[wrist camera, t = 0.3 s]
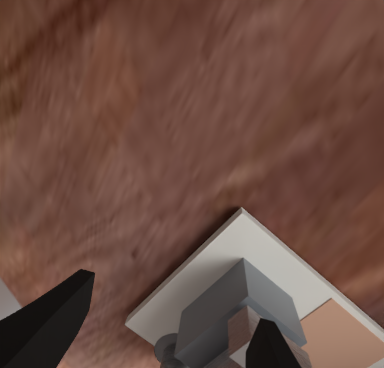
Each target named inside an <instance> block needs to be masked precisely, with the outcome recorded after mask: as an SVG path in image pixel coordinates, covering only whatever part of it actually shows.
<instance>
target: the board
mask: <svg viewBox="0 0 384 368" xmlns="http://www.w3.org/2000/svg"><path fill="white" fill-rule="evenodd" d="M242 258H245V259H246V260H247V261H248V262H250V263H251V264H252V265H253V266H254V267H256V268H257V269H258V270H259V271H260V272H262V273H263V274H264V275H265V276H266V277H268V278H269V279H270V280H271V281H273V282H274V283H275V284H276V285H277V286H279V287H280V288H281V289H282V290H283V291H285V292H286V293H287V294H288V295H289V296H291V297H292V299H293V302H294V305H295V308H296V311H297V314H298V317H299V320H300V323H301V326H302V329H303V332H304V335H305V337H306V340H307V344H305V345H304V346H302V347H301V348H302V349H303V350H304V351H305V352H307V353H308V356H309V359H310V362H311V365H312V368H384V329H383V328H382V327H380V326H379V325H378V324H377V323H376V322H375V321H373V320H372V319H371V318H370V317H369V316H368V315H366V314H365V313H364V312H363V311H362V310H361V309H359V308H358V307H357V306H356V305H355V304H354V303H353V302H351V301H350V300H349V299H348V298H347V297H346V296H344V295H343V294H342V293H341V292H340V291H339V290H337V289H336V288H335V287H334V286H333V285H332V284H330V283H329V282H328V281H327V280H326V279H325V278H323V277H322V276H321V275H320V274H319V273H318V272H316V271H315V270H314V269H313V268H312V267H311V266H310V265H308V264H307V263H306V262H305V261H304V260H303V259H301V258H300V257H299V256H298V255H297V254H296V253H294V252H293V251H292V250H291V249H290V248H289V247H287V246H286V245H285V244H284V243H283V242H282V241H280V240H279V239H278V238H277V237H276V236H275V235H273V234H272V233H271V232H270V231H269V230H268V229H266V228H265V227H264V226H263V225H262V224H261V223H260V222H258V221H257V220H256V219H255V218H254V217H253V216H251V215H250V214H249V213H248V212H247V211H246V210H244V209H243V208H242V207H241V208H240V209H239V210H238V211H237V212H236V213H235V214H234V215H233V216H231V217H230V218H229V219H228V220H227V221H226V222H225V223H224V224H223V225H222V226H221V227H220V228H219V229H218V230H217V231H216V232H215V233H214V234H213V235H212V236H211V237H210V238H209V239H207V240H206V241H205V242H204V243H203V244H202V245H201V246H200V247H199V248H198V249H197V250H196V251H195V252H194V253H193V254H192V255H191V256H190V257H189V258H188V259H187V260H186V261H185V262H183V263H182V264H181V265H180V266H179V267H178V268H177V269H176V270H175V271H174V272H173V273H172V274H171V275H170V276H169V277H168V278H167V279H166V280H165V281H164V282H163V283H162V284H161V285H159V286H158V287H157V288H156V289H155V290H154V291H153V292H152V293H151V294H150V295H149V296H148V297H147V298H146V299H145V300H144V301H143V302H142V303H141V304H140V305H139V306H138V307H137V308H135V309H134V310H133V311H132V312H131V313H130V314H129V315H128V317H127V320H126V322H125V325H126V326H127V327H128V328H130V329H131V330H133V331H134V332H135V333H137V334H138V335H139V336H141V337H142V338H144V339H145V340H146V341H148V342H149V343H151V344H152V345H153V346H155V348H154V352H155V356H156V358H157V359H158V361H159V362H160V363H161V360H162V355H163V351H164V349H165V348H166V347H167V346H168V345H171V344H176V342H177V336H178V330H179V324H180V318H181V313H182V311H183V310H184V309H185V308H186V307H188V306H189V305H190V304H191V303H192V302H193V301H194V300H195V299H197V298H198V297H199V296H200V295H201V294H202V293H203V292H205V291H206V290H207V289H208V288H209V287H210V286H211V285H213V284H214V283H215V282H216V281H217V280H218V279H219V278H221V277H222V276H223V275H224V274H225V273H226V272H227V271H228V270H230V269H231V268H232V267H233V266H234V265H235V264H236V263H238V262H239V261H240V260H241V259H242Z"/></svg>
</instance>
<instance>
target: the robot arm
mask: <svg viewBox="0 0 384 368" xmlns="http://www.w3.org/2000/svg"><path fill="white" fill-rule="evenodd" d="M94 277H95V273H94V272H90V271H87V270H83V269H80V270H78V271H77V272H76V273H74V274H73V275H72V276H70V277H69V278H67V279H66V280H65V281H63V282H62V283H60V284H59V285H57V286H56V287H55V288H53V289H52V290H50V291H49V292H47V293H45V294H44V295H42V296H41V297H39V298H38V299H36V300H35V301H33V302H32V303H30V304H28V305H27V306H25V307H23V308H21V309H20V310H18V311H16V312H15V313H13V314H11V315H10V316H8V317H6V318H4V319H2V320H0V368H56V367H57V366H58V364H59V362H60V361H61V359H62V358H63V356H64V355H65V353H66V351H67V350H68V348H69V347H70V345H71V343H72V342H73V340H74V339H75V337H76V335H77V334H78V332H79V330H80V328H81V326H82V324H83V322H84V320H85V318H86V316H87V314H88V311H89V308H90V302H91V296H92V289H93V283H94ZM245 368H302V367H301V366H300V364H299V362H298V361H297V359H296V357H295V356H294V354H293V352H292V351H291V349H290V347H289V346H288V344H287V342H286V340H285V339H284V337H283V335H282V333H281V332H280V330H279V328H278V326H277V325H276V323H275V322H274V321H271V320H267V319H263V318H260V320H259V323H258V325H257V327H256V329H255V332H254V334H253V336H252V339H251V341H250V343H249V346H248V348H247V350H246V358H245Z"/></svg>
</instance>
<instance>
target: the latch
mask: <svg viewBox="0 0 384 368" xmlns="http://www.w3.org/2000/svg"><path fill="white" fill-rule="evenodd" d="M260 318H263V317H261V316H260V315H259V314H258V313H256V312H255V311H254V310H253V309H251V308H250V307H249V306H248V305H246V306H245V307H244V308H243V309H241V310H240V311H239V312H238V313H236V314H235V315H234V316H233V317H231V318H230V319H229V320H228V341H229V348H228V349H227V350H225V351H224V352H223V353H221V354H220V355H219V356H217V357H216V358H215V359H214V360H212V361H211V362H210V363H208V364H207V365H206V366H204V367H203V368H245V358H246V350H247V348H248V346H249V343H250V341H251V339H252V336H253V334H254V332H255V329H256V327H257V325H258V323H259V320H260ZM263 319H264V318H263ZM281 333H282V332H281ZM282 335H283V337H284V339H285V340H286V342H287V344H288V346H289V347H290V349H291V351H292V352H293V354H294V356H295V357H296V359H297V361H298V362H299V364H300V366H301V367H302V368H312V365H311V362H310V359H309V356H308V353H307V352H305V351H304V350H303V349H302V348H300V347H299V346H298V345H297V344H295V343H294V342H293V341H292V340H290V339H289V338H288V337H287V336H285V335H284V334H283V333H282ZM175 348H176V344H171V345H168V346H167V347H166V348H165V349H164V351H163V355H162V360H161V365H160V368H189V367H188V366H187V365H185V364H184V363H182V362H181V361H180V360H178V359H177V358H175V357H174V353H175Z"/></svg>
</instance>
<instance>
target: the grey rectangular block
mask: <svg viewBox="0 0 384 368" xmlns="http://www.w3.org/2000/svg"><path fill="white" fill-rule="evenodd" d="M246 305H248V306H249V307H250V308H251V309H253V310H254V311H255V312H256V313H258V314H259V315H260V316H261V317H263V318H264V319H267V320H271V321H274V322H275V323H276V325H277V326H278V328H279V330H280V332H282V333H283V334H284V335H285V336H287V337H288V338H289V339H290V340H292V341H293V342H294V343H295V344H297V345H298V346H299V347H300V348H301V347H302V346H304V345H305V344H307V340H306V337H305V335H304V332H303V329H302V326H301V323H300V320H299V317H298V314H297V311H296V308H295V305H294V302H293V299H292V297H291V296H289V295H288V294H287V293H286V292H285V291H283V290H282V289H281V288H280V287H279V286H277V285H276V284H275V283H274V282H273V281H271V280H270V279H269V278H268V277H266V276H265V275H264V274H263V273H262V272H260V271H259V270H258V269H257V268H256V267H254V266H253V265H252V264H251V263H250V262H248V261H247V260H246V259H245V258H242V259H241V260H240V261H239V262H238V263H236V264H235V265H234V266H233V267H232V268H231V269H230V270H228V271H227V272H226V273H225V274H224V275H223V276H222V277H221V278H219V279H218V280H217V281H216V282H215V283H214V284H213V285H211V286H210V287H209V288H208V289H207V290H206V291H205V292H203V293H202V294H201V295H200V296H199V297H198V298H197V299H195V300H194V301H193V302H192V303H191V304H190V305H189V306H188V307H186V308H185V309H184V310H183V311H182V313H181V318H180V324H179V330H178V336H177V342H176V348H175V353H174V357H175V358H177V359H178V360H180V361H181V362H182V363H184V364H185V365H187V366H188V367H189V368H203V367H204V366H206V365H207V364H208V363H210V362H211V361H212V360H214V359H215V358H216V357H217V356H219V355H220V354H221V353H223V352H224V351H225V350H227V349H228V348H229V341H228V320H229V319H230V318H231V317H233V316H234V315H235V314H236V313H238V312H239V311H240V310H241V309H243V308H244V307H245V306H246Z"/></svg>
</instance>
